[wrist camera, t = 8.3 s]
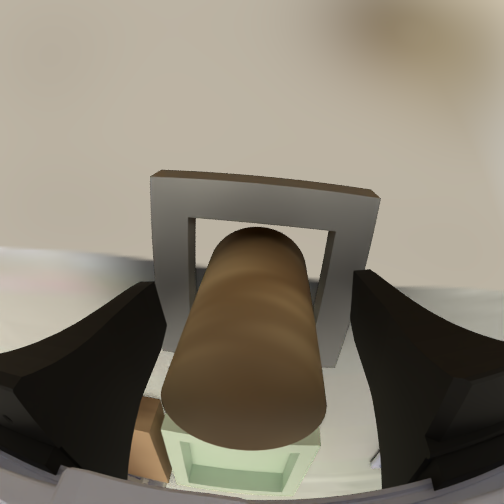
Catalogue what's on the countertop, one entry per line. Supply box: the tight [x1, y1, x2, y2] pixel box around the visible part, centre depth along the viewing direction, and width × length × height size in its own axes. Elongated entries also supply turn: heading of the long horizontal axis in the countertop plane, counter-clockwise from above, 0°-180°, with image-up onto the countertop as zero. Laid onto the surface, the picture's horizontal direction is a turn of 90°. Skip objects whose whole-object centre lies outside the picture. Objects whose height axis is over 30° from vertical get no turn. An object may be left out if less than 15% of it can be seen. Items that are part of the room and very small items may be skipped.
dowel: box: [161, 227, 327, 451], centre depth 10 cm, size 4×4×7 cm
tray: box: [161, 413, 321, 496], centre depth 18 cm, size 9×9×2 cm
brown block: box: [128, 396, 172, 483], centre depth 18 cm, size 6×8×3 cm
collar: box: [150, 170, 381, 368], centre depth 13 cm, size 8×8×1 cm
